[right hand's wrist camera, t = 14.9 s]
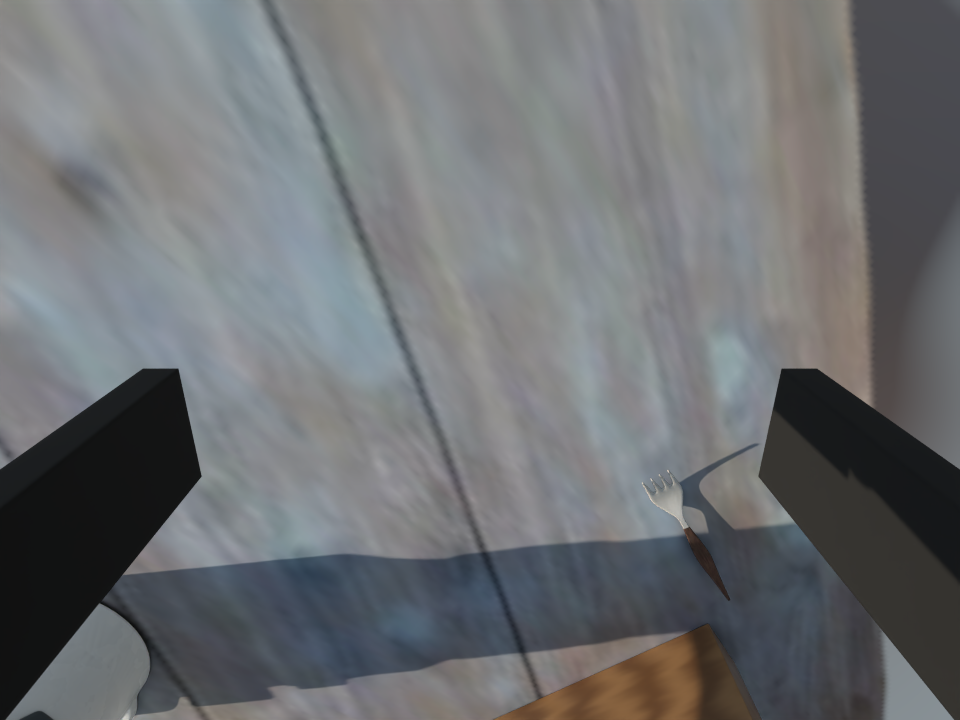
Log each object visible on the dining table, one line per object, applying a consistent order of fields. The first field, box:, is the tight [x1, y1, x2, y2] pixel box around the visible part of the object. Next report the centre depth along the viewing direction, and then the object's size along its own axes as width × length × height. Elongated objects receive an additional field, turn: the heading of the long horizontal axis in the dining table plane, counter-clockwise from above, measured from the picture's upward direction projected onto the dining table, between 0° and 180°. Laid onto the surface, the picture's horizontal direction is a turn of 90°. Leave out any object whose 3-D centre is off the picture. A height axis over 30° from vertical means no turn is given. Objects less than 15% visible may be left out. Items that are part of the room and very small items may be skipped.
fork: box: [642, 470, 730, 601], centre depth 46 cm, size 3×16×2 cm, turn 32°
